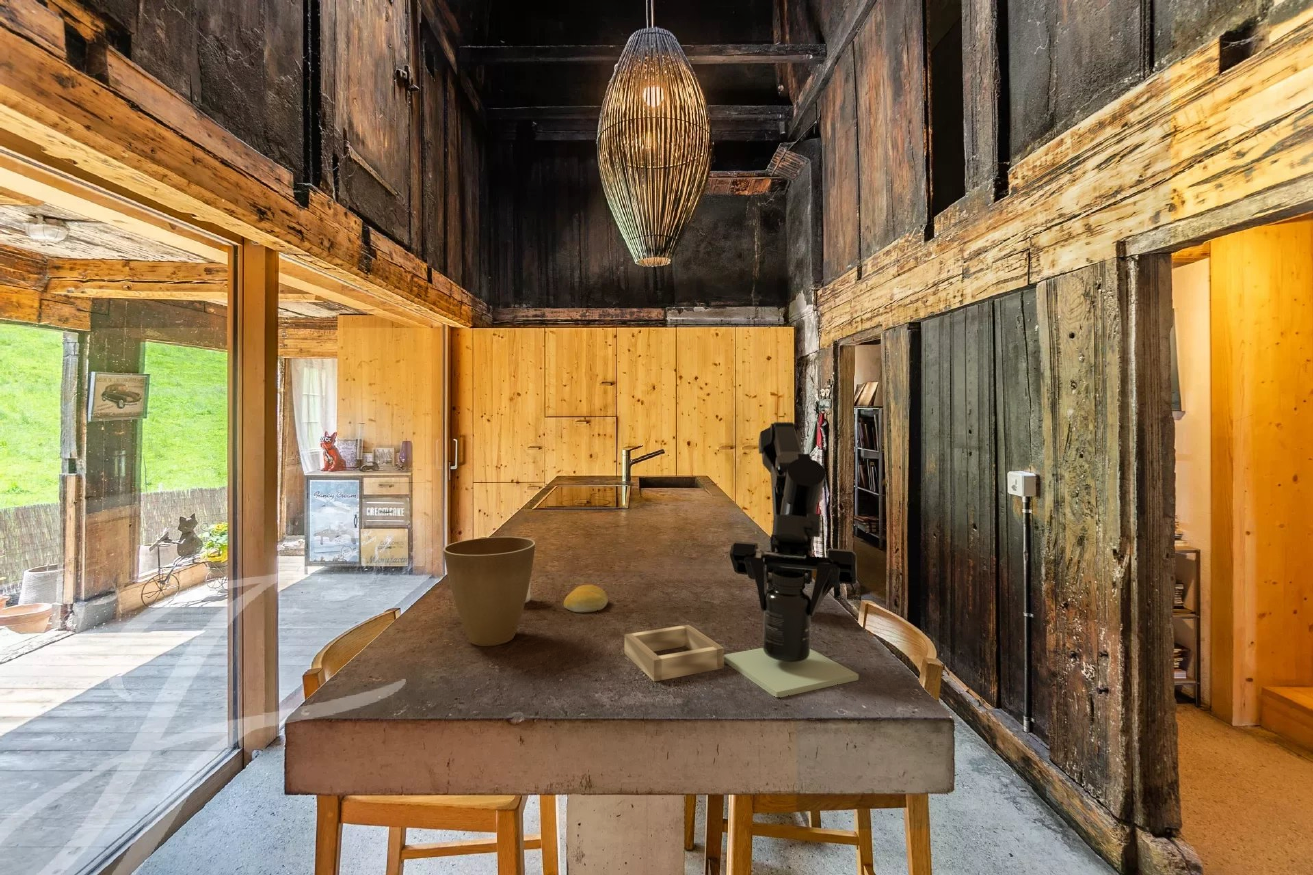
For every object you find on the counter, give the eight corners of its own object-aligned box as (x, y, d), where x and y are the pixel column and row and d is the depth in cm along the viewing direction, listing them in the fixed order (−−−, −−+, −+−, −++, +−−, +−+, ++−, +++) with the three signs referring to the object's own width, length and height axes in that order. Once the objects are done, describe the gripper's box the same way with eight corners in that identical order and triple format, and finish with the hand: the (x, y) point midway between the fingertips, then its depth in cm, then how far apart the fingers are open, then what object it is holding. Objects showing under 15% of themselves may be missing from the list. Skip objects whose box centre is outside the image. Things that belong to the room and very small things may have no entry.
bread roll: (559, 612, 115) (559, 592, 115) (573, 599, 124) (573, 580, 124) (600, 615, 114) (600, 594, 114) (612, 601, 123) (612, 582, 122)
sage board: (796, 646, 97) (796, 641, 97) (858, 679, 84) (858, 674, 84) (722, 660, 91) (722, 654, 91) (776, 698, 79) (776, 692, 79)
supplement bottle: (817, 662, 85) (820, 579, 85) (771, 664, 84) (774, 580, 84) (799, 644, 92) (801, 567, 92) (756, 645, 91) (758, 568, 91)
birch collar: (688, 642, 99) (688, 624, 99) (724, 668, 88) (724, 647, 88) (624, 653, 94) (624, 634, 94) (653, 681, 84) (653, 660, 84)
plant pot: (496, 618, 111) (496, 533, 111) (553, 635, 102) (553, 542, 102) (425, 642, 99) (424, 546, 99) (483, 663, 90) (482, 558, 90)
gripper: (732, 490, 94) (714, 577, 84) (856, 496, 88) (852, 590, 78) (743, 531, 102) (727, 615, 92) (858, 539, 96) (854, 630, 86)
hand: (786, 612), depth 87 cm, fingers closed on supplement bottle, 7 cm apart
